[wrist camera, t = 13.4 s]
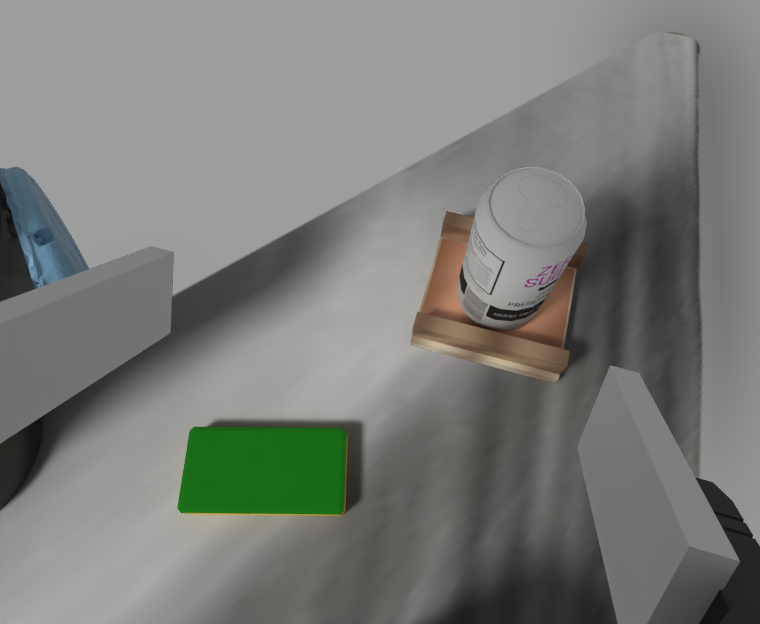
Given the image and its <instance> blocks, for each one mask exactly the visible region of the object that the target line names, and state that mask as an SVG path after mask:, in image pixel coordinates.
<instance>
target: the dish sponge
mask: <svg viewBox="0 0 760 624" xmlns="http://www.w3.org/2000/svg"><path fill="white" fill-rule="evenodd" d="M347 452H348V434H347V432H346V431H345V430H344V429H343V428H281V427H193V428H192V429H191V430H190V432H189V439H188V445H187V451H186V458H185V464H184V470H183V477H182V483H181V489H180V496H179V502H178V510H179V511H180V512H181V513H185V514H220V515H314V516H342V515H343V514H344V513H345V509H346V480H347Z"/></svg>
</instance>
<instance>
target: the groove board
mask: <svg viewBox="0 0 760 624" xmlns="http://www.w3.org/2000/svg"><path fill="white" fill-rule="evenodd" d="M473 221H474V217H469V216H465V215H461V214H456V213H452V212H448V211H446V215H445V218H444V222H443V226H442V232H441V238H440V241H439V244H438V248H437V251H436V255H435V258H434V262H433V265H432V269H431V272H430V276H429V279H428V283H427V286H426V290H425V293H424V297H423V300H422V304H421V307H420V311H419V312H417V315H416V319H415V322H414V326H413V334H412V339H411V345H413V346H417V347H421V348H425V349H428V350H432V351H436V352H440V353H443V354H447V355H451V356H455V357H458V358H462V359H466V360H469V361H473V362H477V363H481V364H484V365H488V366H492V367H496V368H499V369H503V370H507V371H511V372H514V373H518V374H522V375H526V376H529V377H533V378H537V379H541V380H544V381H548V382H552V383H556V382H557V381H558V380H559V375H560V374H561V373H562V372H563V371H564V370H565V369H566V368H567V367H568V360H569V354H570V351H568V350H564V344H565V338H566V332H567V326H568V319H569V313H570V307H571V301H572V295H573V289H574V283H575V276H576V270H577V267H578V266H579V265H580V263H581V262H582V260H583V259H584V257H585V253H586V246H587V244H586V243H581V244H580V246H579V247H578V249H577V251H576V252H575V254H574V255H573V257H572V258H571V260H570V262H569V263H568V265H567V266H566V268H565V269H564V271H563V273H562V274H561V276H560V277H559V279H558V280H557V282H556V284H555V285H554V287H553V288H552V290H551V292H550V293H549V295H548V296H547V298H546V299H545V301H544V303H543V304H542V306H541V307H540V309H539V310H538V312H537V313H536V315H535V316H534V318H533V319H532V320H531V321H530V322H528V323H527V324H525V325H523V326H522V327H520V328H517V329H513V330H508V331H499V330H490V329H488V328H485V327H483V326H481V325H479V324H476V323H475V322H474V321H473V320H472V319H471V318H470V317H468V316H467V315H466V314H465V313H464V311H463V309H462V307H461V305H460V303H459V302H458V296H457V288H456V287H457V283H458V279H459V275H460V271H461V267H462V264H463V260H464V256H465V252H466V248H467V244H468V240H469V236H470V233H471V229H472V225H473Z"/></svg>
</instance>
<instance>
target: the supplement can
mask: <svg viewBox="0 0 760 624" xmlns="http://www.w3.org/2000/svg"><path fill="white" fill-rule="evenodd" d="M586 226H587V220H586V216H585V206H584V202H583V198H582V195H581V194H580V192H579V191H578V190H577V188H576V187H575V185H574V184H573V183H572V182H571V181H569V180H568V179H567V178H565V177H564V176H563V175H561V174H560V173H557V172H554V171H551V170H549V169H546V168H540V167H523V168H518V169H513V170H511V171H509V172H508V173H506V174H504V175H502V176H501V177H499V179H498V180H497V181H496V182H494V183H492V184H490V185H489V187H488V188H487V189H486V190H485V191H484V193H483V194H482V195H481V196H480V199H479V202H478V206H477V209H476V213H475V217H474V221H473V225H472V229H471V233H470V236H469V240H468V244H467V248H466V252H465V256H464V260H463V264H462V267H461V271H460V275H459V279H458V283H457V287H456V288H457V296H458V302H459V303H460V305H461V307H462V309H463V311H464V313H465V314H466V315H467V316H468V317H470V318H471V319H472V320H473V321H474V322H475V323H476V324H479V325H481V326H483V327H485V328H488V329H490V330H499V331H508V330H513V329H517V328H520V327H522V326H523V325H525V324H527V323H528V322H530V321H531V320H532V319H533V318H534V316H535V315H536V313H537V312H538V310H539V309H540V307H541V306H542V304H543V303H544V301H545V299H546V298H547V296H548V295H549V293H550V292H551V290H552V288H553V287H554V285H555V284H556V282H557V280H558V279H559V277H560V276H561V274H562V273H563V271H564V269H565V268H566V266H567V265H568V263H569V262H570V260H571V258H572V257H573V255H574V254H575V252H576V251H577V249H578V247H579V246H580V244H581V243H582V241H583V239H584V237H585V231H586Z"/></svg>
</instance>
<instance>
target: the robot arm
mask: <svg viewBox="0 0 760 624" xmlns="http://www.w3.org/2000/svg"><path fill="white" fill-rule="evenodd" d="M173 257H174V252H171V251H167V250H163V249H158V248H155V247H149V248H146V249H143V250H140V251H137V252H135V253H132V254H130V255H127V256H124V257H121V258H118V259H116V260H113V261H110V262H108V263H105V264H102V265H99V266H97V267H94V268H91V269H89V268H88V266H87V264H86V262H85V260H84V258H83V256H82V254H81V252H80V250H79V249H78V247H77V245H76V243H75V242H74V240H73V238H72V236H71V235H70V233H69V232H68V230H67V228H66V226H65V225H64V223H63V221H62V220H61V218H60V216H59V215H58V214H57V212H56V210H55V209H54V207H53V206H52V204H51V203H50V201H49V199H48V198H47V197H46V195H45V194H44V192H43V191H42V190H41V188H40V187H39V185H38V184H37V183H36V182H35V180H34V179H33V178H32V177H30V176H29V175H28V174H27V172H26V171H25V170H23V169H21V168H18V167H13V168H9V169H1V168H0V508H1V507H2V506H3V505H4V504H5V503H6V502H7V501H8V500H9V499H10V498H11V497H12V496H13V495H14V493H15V492H16V491H17V490H18V488H19V487H20V486H21V484H22V483H23V481H24V480H25V478H26V476H27V475H28V473H29V471H30V469H31V467H32V465H33V462H34V460H35V457H36V455H37V451H38V448H39V443H40V438H41V417H42V416H43V415H45V414H46V413H48V412H50V411H51V410H53V409H54V408H56V407H57V406H59V405H60V404H62V403H63V402H65V401H66V400H68V399H70V398H71V397H73V396H74V395H76V394H77V393H79V392H80V391H82V390H83V389H85V388H86V387H88V386H90V385H91V384H93V383H94V382H96V381H97V380H99V379H100V378H102V377H103V376H105V375H106V374H108V373H110V372H111V371H113V370H114V369H116V368H117V367H119V366H120V365H122V364H123V363H125V362H126V361H128V360H130V359H131V358H133V357H134V356H136V355H137V354H139V353H140V352H142V351H143V350H145V349H146V348H148V347H150V346H151V345H153V344H154V343H156V342H157V341H159V340H160V339H162V338H163V337H165V336H166V335H168V334H170V333H171V309H172V284H173V259H174V258H173ZM577 448H578V453H579V457H580V461H581V466H582V470H583V474H584V479H585V483H586V487H587V492H588V496H589V501H590V505H591V509H592V514H593V518H594V522H595V527H596V531H597V535H598V540H599V544H600V549H601V553H602V557H603V562H604V566H605V570H606V575H607V579H608V583H609V588H610V592H611V597H612V601H613V605H614V610H615V614H616V618H617V623H618V624H760V546H759V545H758V543H757V542H756V540H755V539H753V538H752V536H753V535H752V533H751V531H750V530H749V528H748V526H747V525H746V523H743V518H742V516H741V515H740V513H739V511H738V510H737V508H736V506H735V505H734V503H733V501H732V500H731V499H730V498H729V497H728V496H726V495H725V494H724V493H723V492H722V491H721V490H720V489H719V488H718V487H717V486H716V485H715V484H714V483H713V482H709V481H706V480H702V479H699V478H695V476H694V474H693V473H692V471H691V469H690V467H689V465H688V463H687V461H686V460H685V458H684V456H683V454H682V452H681V450H680V448H679V447H678V445H677V443H676V441H675V439H674V437H673V435H672V434H671V432H670V430H669V428H668V426H667V424H666V422H665V421H664V419H663V417H662V415H661V413H660V411H659V409H658V407H657V406H656V404H655V402H654V400H653V398H652V396H651V394H650V393H649V391H648V389H647V387H646V385H645V383H644V381H643V380H642V378H641V376H640V374H639V373H638V372H634V371H630V370H626V369H622V368H618V367H614V366H611V365H610V367H609V370H608V372H607V375H606V377H605V380H604V382H603V385H602V387H601V390H600V392H599V395H598V397H597V399H596V402H595V404H594V407H593V409H592V412H591V414H590V417H589V419H588V422H587V424H586V427H585V429H584V432H583V434H582V437H581V439H580V442H579V444H578V447H577Z"/></svg>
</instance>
